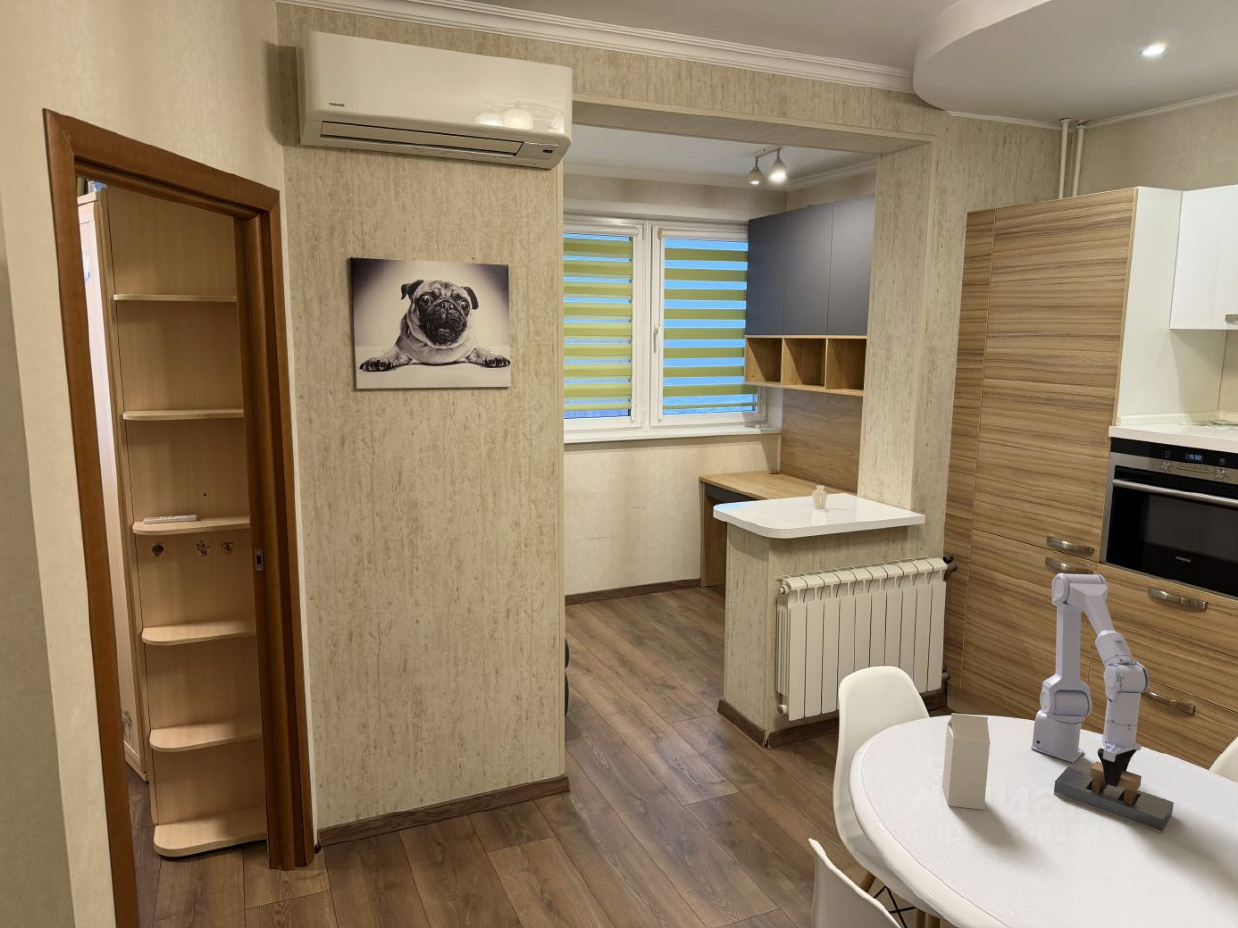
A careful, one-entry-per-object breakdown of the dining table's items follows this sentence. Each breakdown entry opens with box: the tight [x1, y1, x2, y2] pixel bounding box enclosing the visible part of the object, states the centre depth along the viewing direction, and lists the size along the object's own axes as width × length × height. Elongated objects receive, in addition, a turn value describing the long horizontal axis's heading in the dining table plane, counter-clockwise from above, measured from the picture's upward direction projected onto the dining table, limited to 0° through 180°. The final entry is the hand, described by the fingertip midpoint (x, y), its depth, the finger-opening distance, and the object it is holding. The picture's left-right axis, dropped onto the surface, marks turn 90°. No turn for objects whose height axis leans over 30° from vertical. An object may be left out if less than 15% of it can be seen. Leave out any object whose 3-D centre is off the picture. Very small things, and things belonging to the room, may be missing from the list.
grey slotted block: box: [1053, 766, 1175, 834], centre depth 174 cm, size 20×9×3 cm, turn 46°
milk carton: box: [941, 712, 991, 810], centre depth 174 cm, size 7×7×19 cm
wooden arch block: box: [1089, 761, 1142, 805], centre depth 174 cm, size 8×4×7 cm, turn 45°
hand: (1114, 780), depth 174 cm, fingers closed on wooden arch block, 4 cm apart
